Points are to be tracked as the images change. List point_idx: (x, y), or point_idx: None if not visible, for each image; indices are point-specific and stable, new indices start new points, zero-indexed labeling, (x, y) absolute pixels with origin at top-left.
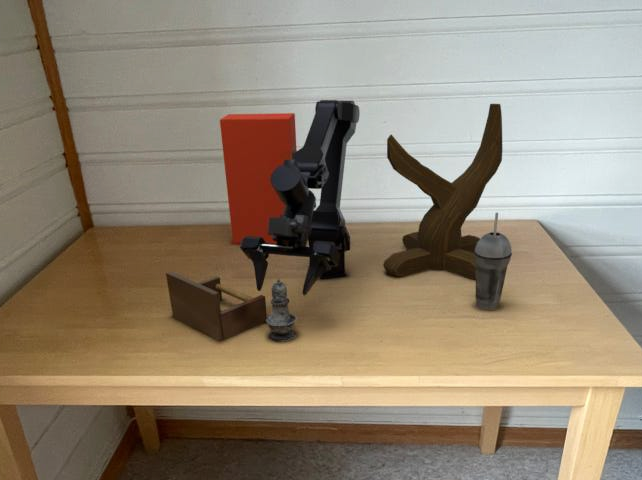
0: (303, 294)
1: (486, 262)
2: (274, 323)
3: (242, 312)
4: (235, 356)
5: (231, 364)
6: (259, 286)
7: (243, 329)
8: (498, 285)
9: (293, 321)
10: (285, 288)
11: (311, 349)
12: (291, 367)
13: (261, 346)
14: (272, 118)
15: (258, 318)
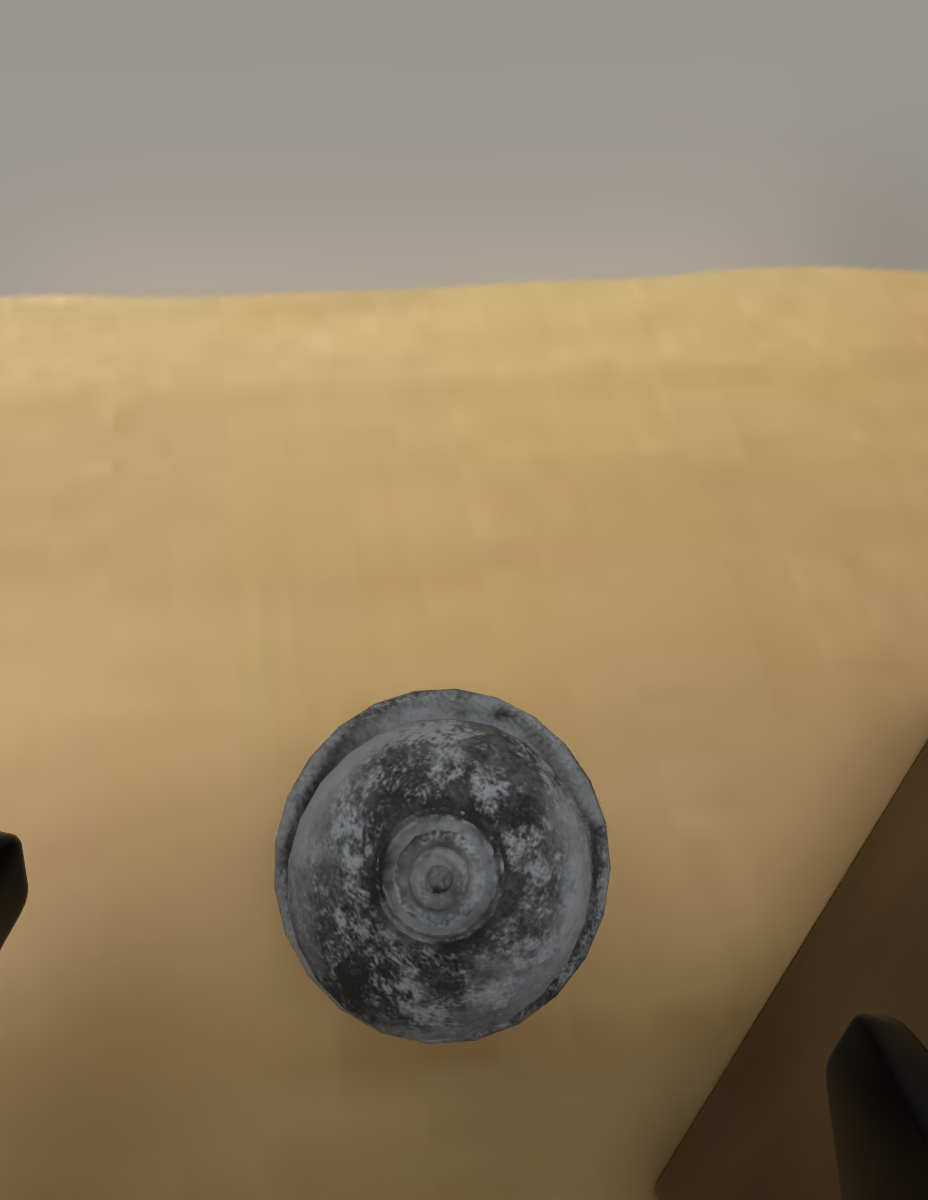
0: (13, 848)
1: None
2: (493, 722)
3: (924, 954)
4: (735, 494)
5: (725, 393)
6: (877, 1069)
7: (824, 920)
8: None
9: (298, 790)
10: (301, 820)
11: (176, 621)
12: (309, 375)
13: (582, 650)
14: None
15: (739, 1109)
